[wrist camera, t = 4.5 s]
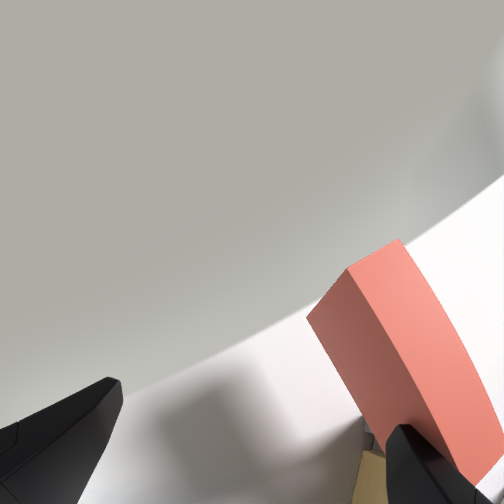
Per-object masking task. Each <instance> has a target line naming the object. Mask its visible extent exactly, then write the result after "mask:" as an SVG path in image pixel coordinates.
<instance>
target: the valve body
mask: <svg viewBox="0 0 504 504" xmlns="http://www.w3.org/2000/svg"><path fill="white" fill-rule="evenodd" d="M363 431H364V432H368V433H372V431H371V429H370V427H369V426H368V424H367V422H366V420H365V424H364V430H363ZM372 434H373V433H372ZM351 504H388V498H387V489H386V456H385V454H384V452H383V450H382V448H381V447H380V445H379V443H378V441H377V440H376V438H375V437H374V442H373V448H372V450H363V452H362V457H361V462H360V467H359V472H358V476H357V481H356V485H355V489H354V493H353V497H352V501H351Z"/></svg>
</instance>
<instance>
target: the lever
mask: <svg viewBox="0 0 504 504" xmlns="http://www.w3.org/2000/svg"><path fill="white" fill-rule="evenodd" d="M306 318H307V320H308V322H309V324H310V325H311V327H312V329H313V330H314V332H315V334H316V335H317V337H318V339H319V341H320V342H321V344H322V346H323V347H324V349H325V351H326V353H327V354H328V356H329V358H330V359H331V361H332V363H333V365H334V366H335V368H336V370H337V372H338V373H339V375H340V377H341V378H342V380H343V382H344V384H345V385H346V387H347V389H348V391H349V392H350V394H351V396H352V398H353V399H354V401H355V403H356V405H357V406H358V408H359V410H360V412H361V413H362V415H363V417H364V419H365V420H366V422H367V424H368V426H369V427H370V429H371V431H372V433H373V434H374V436H375V438H376V440H377V441H378V443H379V445H380V447H381V448H382V450H383V452H384V454H385V444H386V441H387V439H388V437H389V436H390V434H391V433H392V431H393V430H394V428H395V427H396V425H398V424H410V425H412V426H413V427H414V428H415V429H416V430H417V431H418V432H419V433H420V434H421V435H422V436H423V437H424V438H425V439H426V440H427V441H428V442H429V443H430V444H431V445H432V446H433V447H434V448H435V449H436V450H437V451H438V452H439V453H440V454H441V455H443V456H444V457H445V458H446V459H447V460H448V461H449V462H450V463H451V464H452V465H453V466H454V467H455V468H456V469H457V470H458V471H459V472H460V473H461V474H462V475H463V476H464V477H465V478H466V479H467V480H468V481H470V482H471V483H472V484H473V485H474V486H476V485H477V484H478V483H479V482H480V480H481V479H482V478H483V477H484V476H485V475H486V474H487V473H488V472H489V471H490V470H491V468H492V467H493V466H494V465H495V464H496V463H497V461H498V460H499V459H500V458H501V457H502V455H503V454H504V433H503V431H502V428H501V426H500V423H499V421H498V418H497V416H496V413H495V411H494V408H493V406H492V404H491V401H490V399H489V397H488V394H487V392H486V390H485V388H484V386H483V383H482V381H481V379H480V377H479V375H478V373H477V371H476V369H475V367H474V365H473V363H472V361H471V359H470V357H469V355H468V353H467V351H466V349H465V347H464V345H463V343H462V341H461V339H460V337H459V336H458V334H457V332H456V330H455V328H454V326H453V325H452V323H451V321H450V319H449V318H448V316H447V314H446V312H445V311H444V309H443V307H442V305H441V304H440V302H439V300H438V299H437V297H436V295H435V294H434V292H433V290H432V289H431V287H430V286H429V284H428V282H427V281H426V279H425V278H424V276H423V275H422V273H421V271H420V270H419V268H418V267H417V265H416V264H415V262H414V261H413V259H412V258H411V256H410V255H409V253H408V252H407V250H406V249H405V247H404V246H403V244H402V243H401V241H400V240H399V239H396V240H395V241H393V242H391V243H390V244H388V245H386V246H385V247H383V248H381V249H379V250H378V251H376V252H374V253H372V254H371V255H369V256H367V257H365V258H364V259H362V260H360V261H359V262H357V263H355V264H353V265H351V266H350V267H348V268H346V270H345V271H344V272H343V273H342V275H341V276H340V277H339V278H338V280H337V281H336V282H335V283H334V284H333V286H332V287H331V288H330V289H329V291H328V292H327V293H326V294H325V295H324V297H323V298H322V299H321V300H320V301H319V303H318V304H317V305H316V306H315V307H314V309H313V310H312V311H311V312H310V313H309V314H308V316H307V317H306ZM385 456H386V454H385Z"/></svg>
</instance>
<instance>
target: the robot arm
mask: <svg viewBox="0 0 504 504" xmlns="http://www.w3.org/2000/svg"><path fill="white" fill-rule="evenodd" d="M122 405H123V394H122V387H121V382H120V381H119V380H117V379H114V378H111V377H106V378H104V379H102V380H100V381H98V382H96V383H94V384H92V385H90V386H88V387H86V388H84V389H82V390H80V391H79V392H76V393H75V394H72V395H70V396H69V397H67V398H65V399H63V400H61V401H59V402H57V403H55V404H53V405H51V406H49V407H47V408H45V409H42V410H40V411H38V412H36V413H34V414H32V415H30V416H28V417H26V418H24V419H22V420H20V421H19V422H15V423H13V424H11V425H9V426H7V427H4V428H2V429H0V504H77V503H78V501H79V499H80V497H81V495H82V493H83V491H84V489H85V487H86V485H87V483H88V481H89V479H90V477H91V475H92V473H93V471H94V469H95V467H96V466H97V464H98V462H99V460H100V458H101V456H102V454H103V452H104V450H105V448H106V446H107V444H108V442H109V439H110V437H111V434H112V431H113V428H114V426H115V423H116V420H117V418H118V415H119V413H120V410H121V407H122ZM385 454H386V489H387V498H388V504H493V503H492V502H491V501H490V500H489V499H488V498H487V497H485V496H484V495H483V494H482V493H481V492H480V491H479V490H478V489H477V488H476V489H475V486H474V485H473V484H472V483H471V482H470V481H468V480H467V479H466V478H465V477H464V476H463V475H462V474H461V473H460V472H459V471H458V470H457V469H456V468H455V467H454V466H453V465H452V464H451V463H450V462H449V461H448V460H447V459H446V458H445V457H444V456H443V455H441V454H440V453H439V452H438V451H437V450H436V449H435V448H434V447H433V446H432V445H431V444H430V443H429V442H428V441H427V440H426V439H425V438H424V437H423V436H422V435H421V434H420V433H419V432H418V431H417V430H416V429H415V428H414V427H413V426H412V425H410V424H398V425H396V427H395V428H394V430H393V431H392V433H391V434H390V436H389V437H388V439H387V441H386V444H385Z"/></svg>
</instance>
